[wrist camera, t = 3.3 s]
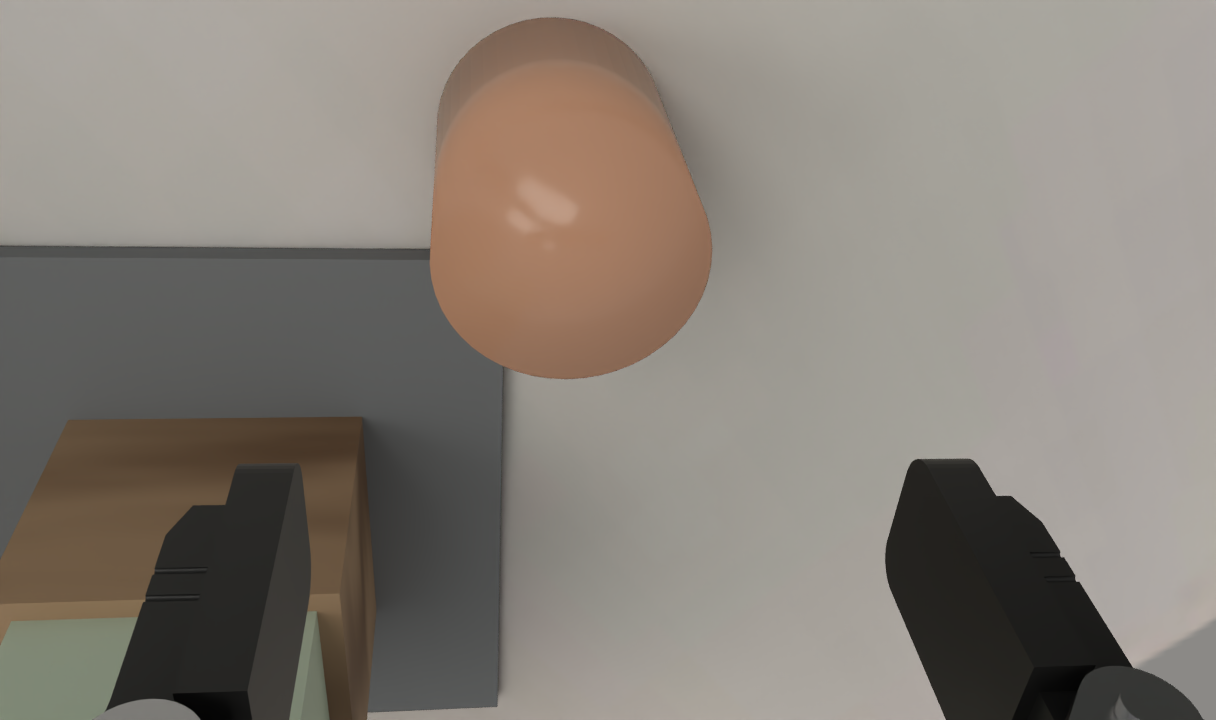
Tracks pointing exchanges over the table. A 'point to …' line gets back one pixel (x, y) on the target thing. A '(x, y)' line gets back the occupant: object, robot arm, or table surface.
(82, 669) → the top block
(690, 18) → the table surface
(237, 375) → the mat
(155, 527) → the bottom block
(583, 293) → the tan rounded cylinder
